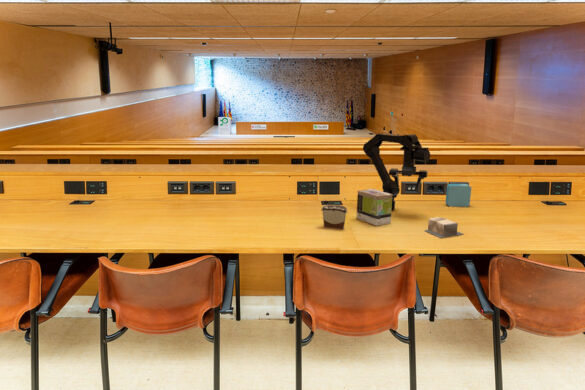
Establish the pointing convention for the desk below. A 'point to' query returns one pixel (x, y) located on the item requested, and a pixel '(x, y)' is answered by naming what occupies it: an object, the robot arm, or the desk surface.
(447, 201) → the teal square slab
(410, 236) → the desk surface
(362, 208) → the tea box
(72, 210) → the desk surface
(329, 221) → the food container
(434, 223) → the cream block
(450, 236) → the mat
